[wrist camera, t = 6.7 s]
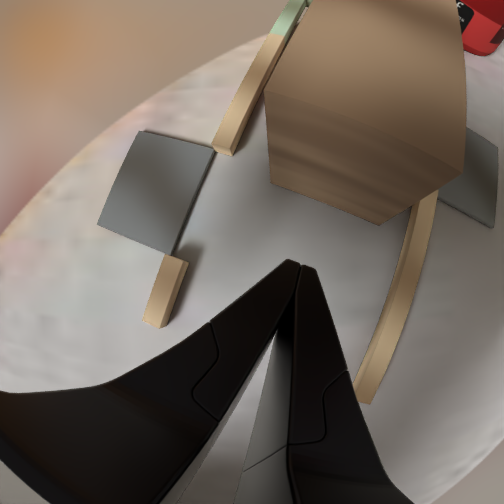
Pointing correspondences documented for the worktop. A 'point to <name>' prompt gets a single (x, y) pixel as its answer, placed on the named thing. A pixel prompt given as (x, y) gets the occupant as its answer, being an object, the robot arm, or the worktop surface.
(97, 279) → the worktop surface
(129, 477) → the robot arm
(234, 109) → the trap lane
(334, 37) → the walnut block
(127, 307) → the worktop surface
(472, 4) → the canned food
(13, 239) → the worktop surface
